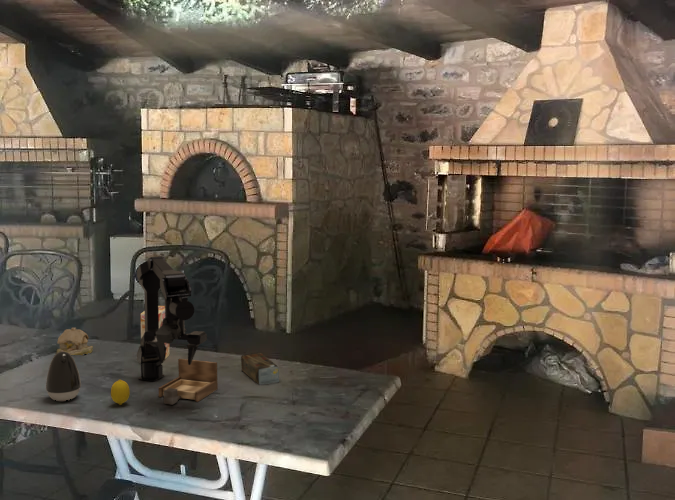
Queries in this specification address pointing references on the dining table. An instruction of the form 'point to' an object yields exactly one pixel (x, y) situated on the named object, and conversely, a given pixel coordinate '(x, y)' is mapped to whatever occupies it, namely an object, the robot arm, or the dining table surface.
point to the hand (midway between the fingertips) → (175, 363)
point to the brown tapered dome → (63, 377)
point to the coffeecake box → (161, 317)
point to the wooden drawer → (182, 390)
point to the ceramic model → (74, 342)
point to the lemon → (120, 392)
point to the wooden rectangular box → (260, 368)
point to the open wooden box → (196, 376)
